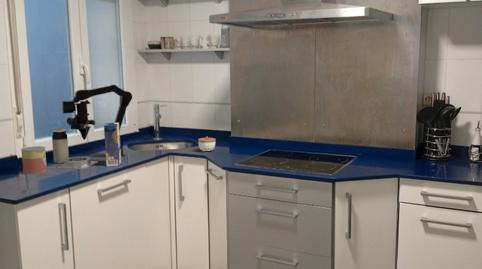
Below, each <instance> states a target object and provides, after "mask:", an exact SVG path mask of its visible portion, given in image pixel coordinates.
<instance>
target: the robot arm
mask: <svg viewBox="0 0 482 269" xmlns="http://www.w3.org/2000/svg"><path fill="white" fill-rule="evenodd" d="M108 93H109V94H110V93H114V94H116V95H117V96H119V106H118V109H117V113H116V116H115V119H114V122H113V123H119V129H120V130H121V127H122V123H123V120H124V117H125V115H126V111H127V108H128V106H129V105H130V103H131V101H132V100H133V94H132V92H131V91H128V90H125V89H124V90H123V89H122V88H120V87H119V86H118V85H116V84H111V85H107V86H106V85H105V86H101V87H96V88H92V89H78V90H76V91H75V92H74V97H73V99H72V100H68V101H65V100H62V102H61V103H62V107H61V109H62V114H73V113H75V112H76V114H75V115H74V117H67V118H66V124H68V126H69V127H70V130H78V131H79V133H80V135H81V138H82V140H84V141H85V140H86V139H87V136H88V134H89V131H90V129H91V127H92V126H95V125H96V121H95V119H89V116H90V113H89V112H88V105H91V101H89V100H88V99H89V98H92V97H94V96H99V95H104V94H108ZM120 149H121V158H123V157H124V156H125V154H124V142H122V141H121V140H120Z"/></svg>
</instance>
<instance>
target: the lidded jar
mask: <svg viewBox="0 0 482 269" xmlns="http://www.w3.org/2000/svg"><path fill="white" fill-rule="evenodd" d="M197 140H198V148H199V149H200V151H201V150H202V151H211V150H212V151H214V150H215V148H216V138H214V137H209V136H205V137H201V138H198V139H197ZM202 151H201V152H202Z"/></svg>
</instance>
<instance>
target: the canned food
mask: <svg viewBox="0 0 482 269" xmlns="http://www.w3.org/2000/svg"><path fill="white" fill-rule="evenodd" d="M20 150H21V157H22V158H21V162H22V170H23V171H22V173H23V174H26V175H36V174H42V173H46V172H47V171H48V169H47V168H48V167H47V157H46V156H47V155H46V153H47V152H46V147H45V146H41V145H40V146H35V145H34V146H27V147H23V148H21V149H20Z"/></svg>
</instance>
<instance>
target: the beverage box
mask: <svg viewBox="0 0 482 269" xmlns="http://www.w3.org/2000/svg"><path fill="white" fill-rule="evenodd" d="M103 131H104V132H103V134H104V152H105V154H104V155H105V167H118V165H119V166H120V165H121V162H122V157H121V149H120V141H121V134H120V132H121V128H120V129H119V123H114V122H106V123H105V124H104V125H103Z"/></svg>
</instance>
